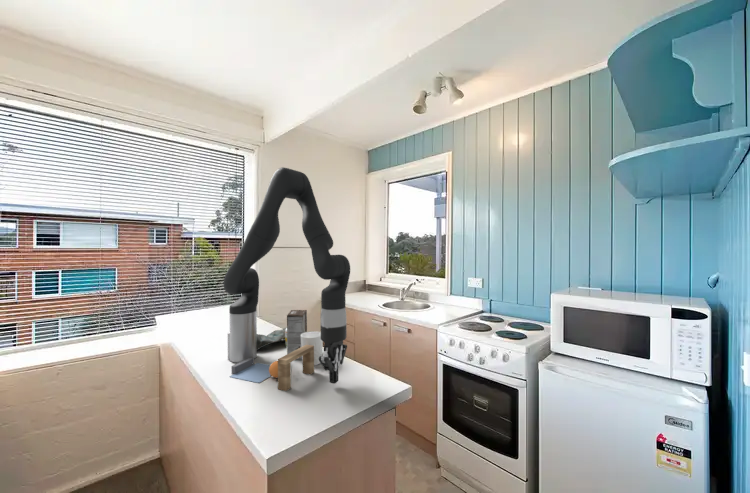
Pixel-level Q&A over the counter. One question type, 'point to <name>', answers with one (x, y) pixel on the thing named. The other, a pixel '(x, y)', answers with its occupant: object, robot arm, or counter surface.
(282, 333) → the grey green crumpled pouch
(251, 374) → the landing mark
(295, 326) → the coffee box
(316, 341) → the white cup
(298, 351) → the bridge
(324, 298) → the robot arm
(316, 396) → the counter surface
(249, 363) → the strip
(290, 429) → the counter surface
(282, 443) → the counter surface
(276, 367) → the ball
